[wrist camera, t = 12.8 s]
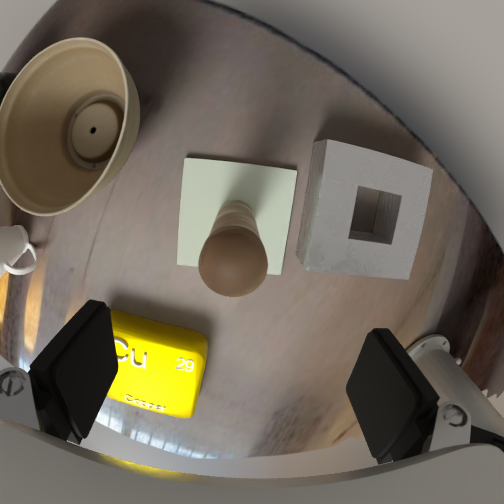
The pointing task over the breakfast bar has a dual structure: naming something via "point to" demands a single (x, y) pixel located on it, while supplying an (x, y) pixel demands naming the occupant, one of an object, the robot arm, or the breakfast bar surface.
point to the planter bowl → (66, 126)
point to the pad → (234, 188)
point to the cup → (14, 249)
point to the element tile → (157, 365)
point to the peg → (233, 252)
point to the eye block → (342, 206)
